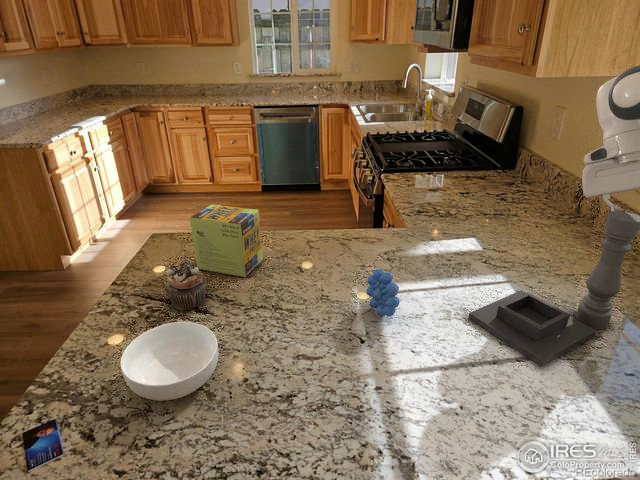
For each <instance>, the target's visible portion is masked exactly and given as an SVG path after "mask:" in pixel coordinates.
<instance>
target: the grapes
mask: <svg viewBox="0 0 640 480" xmlns="http://www.w3.org/2000/svg"><path fill="white" fill-rule="evenodd" d="M393 279H394V275H393V274H391V272H390V271H384V270H383V269H382V268H376V269H374V270H373V273H371V274H369V276H368V277H367V280H366V282H367V284H368V286H367V288H366V290H365V293H366V295H367V296H368V297H370V300H369V306H370V308H372V309H376V310H375V313H376V314H377V316H379V317H385V316H386V317H387V318H388V317H393V316H394V315H395V313H396V309H397V308H398V307H399V305H400V302H401V300H400V298H399V297H398V296H397V295H398V294H399V292H400V289H399V288H400V287H399V285H398V284H397V283H395V282H394V281H393Z"/></svg>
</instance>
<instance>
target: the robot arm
mask: <svg viewBox="0 0 640 480" xmlns="http://www.w3.org/2000/svg"><path fill="white" fill-rule="evenodd" d="M595 105H596V106H595V107H596V115H597V120H598V123H599V124H598V125H599V126H600V128H601V130H602V134H603V135H602V146H600V147H598V148H596V149H594V150H592V151H590V152H588V153H587V154H585V155H584V157H583V164H584V168H583V170H582V174H581V177H582V178H581V179H582V180H581V183H582V185H581V186H582V194H583V196H584V198H587V199H592V198H599V197H602V201H603V202H604V203H605V204H606V205H607V206H608V207H609V208H610V212H612V211H620V209H619V208H620V206H619V204H614V203H612V202H611V200H610V199H611V195H614V194H620V193H627V192H631V191H637V190H640V64H639V65H635V66H633V67H630V68H627V69H626V70H624V71H623V72H622V73H621V74H619V75H617V76H614V77H612V78H610V79H609V80H606V81H605V82H604V83H603V84H602V85H601V86H600V87H599V88H598V90H597V93H596V97H595Z"/></svg>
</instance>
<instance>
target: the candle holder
mask: <svg viewBox="0 0 640 480" xmlns="http://www.w3.org/2000/svg"><path fill="white" fill-rule="evenodd" d="M603 229H604V234H605V238H604V239H601V241H600V245H601V247H602V251H601V254H600V257H599V260H598V261H597V263H596V265H595V267H594V268H593V270H592V271H591V273H590V274H589V276H588V277H587V278H586V280H585V281H586V282H585V284H586V288H587V294H586V295H584V296H582V298H581V301H580V302H579V305H578V307H577V310H576V313H575V319H577V320H578V321H580V322H582V323H584V324H586V325H588V326H590V327H592V328H594V329H596V330H604V329H607V327H608V326H609V323H610V320H611V317H612V314H613V311H612V310H613V307H614V305H613V303H612V301H611V300H612V299H613V298H614V297H615V296H617V295H618V294H619V293H620V290H621V288H622V264H623V261H624V258H625V255H626V254H627V253H629V252H631V250H632V248H633V247H632V245H631V242H632V241H634V240H635V238H636V237H637V236H638V235H639V232H640V215H638V214H636V213H633V212H628V211H621V210H619V211H612V212H611V211H609V212H608V214H607V217H606V219H605V224H604V227H603Z"/></svg>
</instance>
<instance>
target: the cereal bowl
mask: <svg viewBox="0 0 640 480" xmlns="http://www.w3.org/2000/svg"><path fill="white" fill-rule="evenodd" d="M219 355H220V353H219V342H218V340H217V336H216V335H215V334H214V332H213V331H212V330H211V329H210V328H209V327H207V326H206V325H203V324H201V323H198V322H193V321H175V322H168V323H165V324H161V325H158V326H155V327H153V328H151V329H148V330H145V332H143V333H141V334H139V335H138V336H137V337H135V338H134V339H133V340H132V341H131V342H130V343H129V344H128V345H126V348H125V349H124V351H123V352H122V354H121V357H120V364H119V365H120V366H119V367H120V371H121V374H122V378H123V379H124V381H125V383H126V385H127V386H128V387H129V389H130V390H131V391H132V392H133V393H135V395H136V394H137V395H138V396H140V397H142V398H144V399H147V400H152V401H157V402H158V401H160V402H161V401H172V400H177V399H180V398H183V397H186V396H188V395H190V394H192V393H194V392H196V391H197V390H199V389H200V388H201V387H202V386H203V385H205V383H206V382H207V381H208V380H209V379H210V378H211V376H212V375H213V374H214V372H215V370H216V368H217V365H218V362H219Z"/></svg>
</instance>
